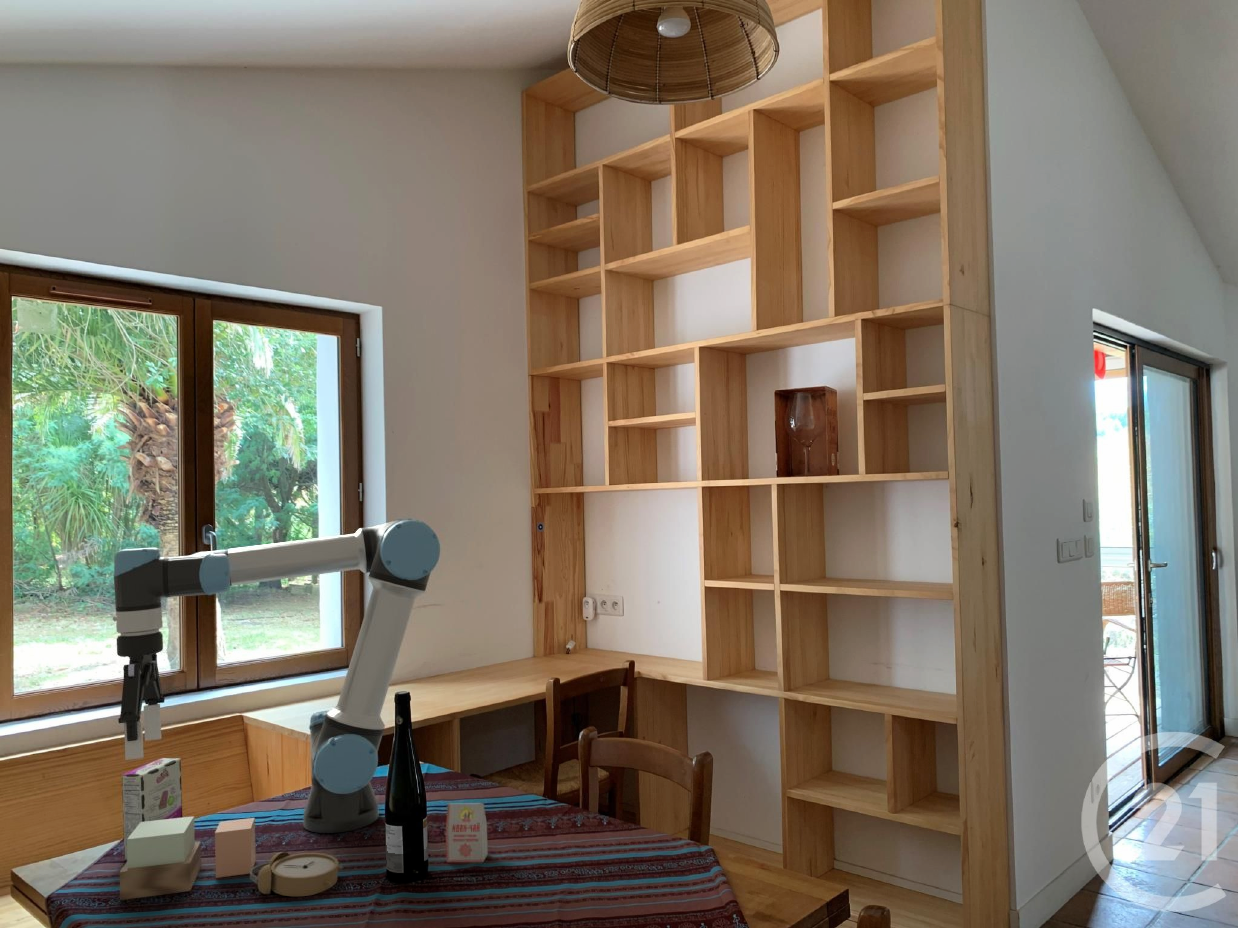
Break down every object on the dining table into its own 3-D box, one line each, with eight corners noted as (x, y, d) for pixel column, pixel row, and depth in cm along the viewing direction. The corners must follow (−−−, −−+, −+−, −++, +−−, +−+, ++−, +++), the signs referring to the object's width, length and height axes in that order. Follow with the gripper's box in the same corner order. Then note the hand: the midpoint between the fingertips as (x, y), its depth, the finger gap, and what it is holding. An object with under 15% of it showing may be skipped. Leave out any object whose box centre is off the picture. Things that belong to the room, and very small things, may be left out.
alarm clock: (329, 879, 155) (241, 866, 155) (324, 908, 155) (236, 896, 155) (347, 854, 166) (265, 842, 166) (343, 881, 166) (261, 869, 166)
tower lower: (201, 868, 170) (200, 841, 170) (190, 892, 159) (189, 862, 159) (135, 876, 167) (135, 848, 167) (120, 901, 156) (119, 871, 157)
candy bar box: (162, 839, 185) (160, 756, 186) (184, 840, 184) (182, 757, 185) (121, 860, 174) (120, 773, 175) (144, 862, 173) (143, 774, 174)
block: (255, 860, 172) (254, 817, 172) (251, 873, 166) (250, 828, 166) (220, 865, 170) (220, 821, 171) (215, 877, 165) (215, 832, 165)
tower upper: (194, 843, 169) (194, 815, 169) (184, 861, 160) (183, 832, 160) (140, 849, 167) (140, 821, 167) (127, 868, 158) (127, 839, 158)
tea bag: (452, 854, 172) (450, 800, 172) (487, 854, 171) (485, 799, 171) (446, 862, 168) (445, 806, 168) (482, 862, 167) (481, 806, 168)
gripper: (134, 625, 180) (139, 734, 179) (96, 644, 156) (101, 769, 155) (176, 622, 182) (180, 729, 181) (145, 639, 158) (150, 764, 157)
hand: (144, 748), depth 168 cm, fingers open, 13 cm apart
